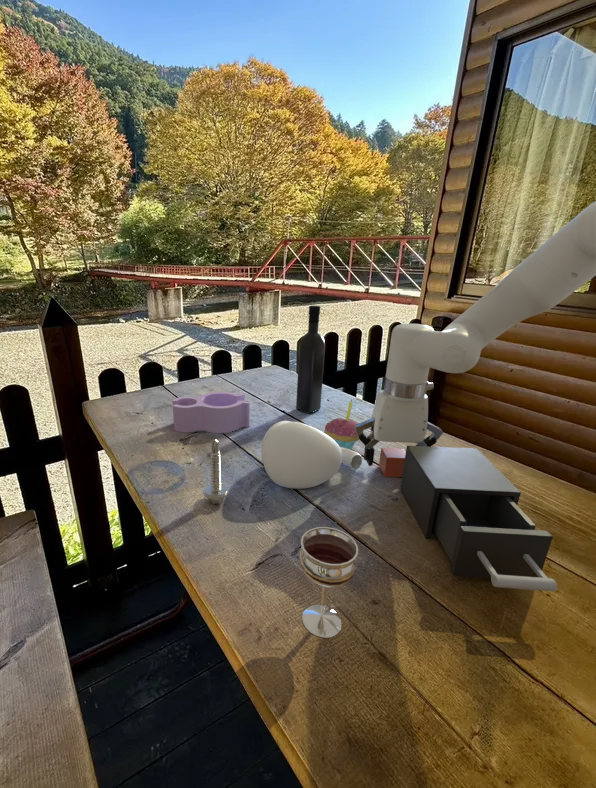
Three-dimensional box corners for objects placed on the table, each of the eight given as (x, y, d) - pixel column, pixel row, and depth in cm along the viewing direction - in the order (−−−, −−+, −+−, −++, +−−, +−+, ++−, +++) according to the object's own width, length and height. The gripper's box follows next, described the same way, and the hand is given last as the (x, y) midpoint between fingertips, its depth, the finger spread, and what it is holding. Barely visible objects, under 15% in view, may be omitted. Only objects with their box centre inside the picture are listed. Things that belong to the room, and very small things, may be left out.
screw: (231, 506, 76) (205, 509, 75) (226, 491, 81) (201, 494, 80) (230, 443, 72) (203, 446, 71) (225, 432, 76) (199, 434, 75)
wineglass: (324, 592, 57) (331, 520, 53) (360, 629, 51) (371, 552, 47) (284, 611, 54) (288, 537, 50) (318, 653, 48) (326, 574, 44)
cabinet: (506, 543, 66) (521, 492, 63) (425, 538, 67) (435, 488, 64) (466, 492, 80) (476, 448, 76) (399, 488, 81) (406, 445, 78)
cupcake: (337, 436, 103) (342, 392, 99) (367, 448, 97) (373, 401, 93) (315, 447, 98) (319, 400, 94) (346, 460, 92) (351, 411, 88)
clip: (175, 436, 104) (173, 411, 101) (173, 417, 115) (171, 394, 113) (252, 430, 107) (252, 406, 104) (242, 412, 118) (242, 390, 116)
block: (400, 466, 89) (402, 448, 87) (406, 477, 85) (409, 458, 83) (378, 465, 90) (381, 447, 88) (383, 476, 85) (386, 457, 84)
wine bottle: (294, 409, 121) (299, 306, 110) (306, 404, 124) (312, 304, 114) (310, 414, 117) (317, 308, 106) (321, 409, 120) (329, 306, 110)
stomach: (367, 498, 85) (299, 459, 106) (383, 437, 84) (311, 410, 105) (278, 497, 75) (221, 453, 96) (294, 427, 73) (233, 399, 94)
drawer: (566, 617, 52) (584, 568, 49) (471, 610, 53) (484, 562, 50) (490, 521, 70) (501, 481, 67) (421, 517, 71) (428, 478, 68)
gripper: (443, 383, 83) (428, 457, 89) (355, 380, 85) (347, 453, 91) (458, 395, 76) (441, 475, 82) (363, 392, 78) (353, 471, 84)
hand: (392, 463), depth 87 cm, fingers open, 9 cm apart
